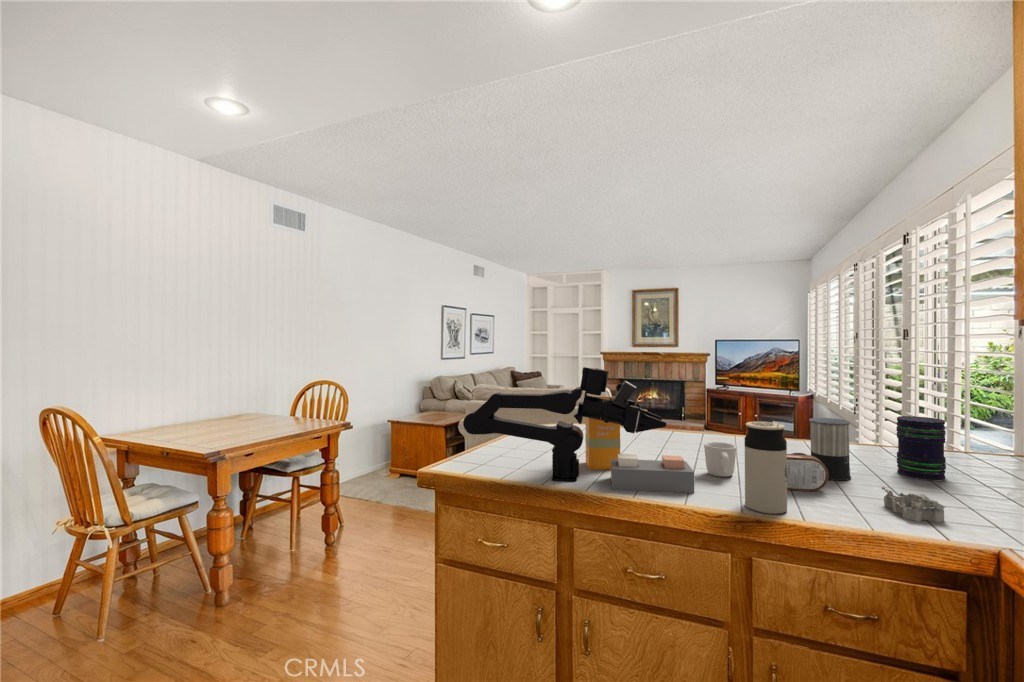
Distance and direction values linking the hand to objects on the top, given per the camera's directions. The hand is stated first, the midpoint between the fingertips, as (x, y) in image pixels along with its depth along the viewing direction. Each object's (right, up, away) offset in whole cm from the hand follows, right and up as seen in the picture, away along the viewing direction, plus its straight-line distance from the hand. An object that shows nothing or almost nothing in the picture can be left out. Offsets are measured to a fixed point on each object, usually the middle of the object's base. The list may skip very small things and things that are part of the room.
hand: (663, 422), depth 119 cm
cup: (+17, -16, +6) cm, 24 cm away
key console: (-4, -15, -2) cm, 16 cm away
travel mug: (+16, -15, -19) cm, 29 cm away
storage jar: (+70, -15, +5) cm, 72 cm away
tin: (+29, -16, -6) cm, 34 cm away
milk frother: (+44, -15, +9) cm, 48 cm away
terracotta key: (+1, -12, -3) cm, 13 cm away
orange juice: (-12, -16, +17) cm, 26 cm away
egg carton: (+45, -16, -22) cm, 52 cm away
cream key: (-9, -12, -1) cm, 16 cm away
